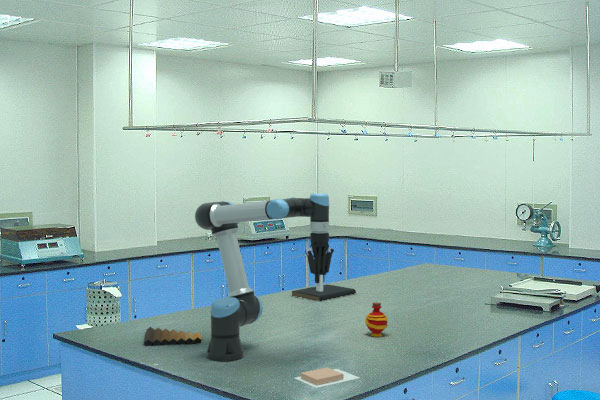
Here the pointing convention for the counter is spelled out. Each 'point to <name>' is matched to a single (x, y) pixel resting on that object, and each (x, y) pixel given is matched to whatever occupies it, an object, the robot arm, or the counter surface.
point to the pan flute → (170, 337)
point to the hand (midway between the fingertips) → (319, 290)
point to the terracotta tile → (322, 376)
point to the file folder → (323, 292)
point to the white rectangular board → (346, 378)
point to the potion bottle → (376, 320)
